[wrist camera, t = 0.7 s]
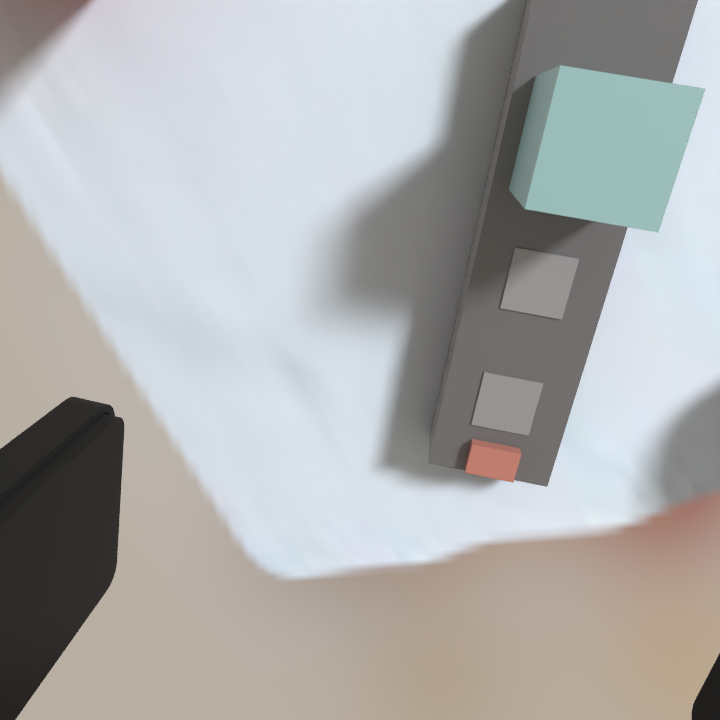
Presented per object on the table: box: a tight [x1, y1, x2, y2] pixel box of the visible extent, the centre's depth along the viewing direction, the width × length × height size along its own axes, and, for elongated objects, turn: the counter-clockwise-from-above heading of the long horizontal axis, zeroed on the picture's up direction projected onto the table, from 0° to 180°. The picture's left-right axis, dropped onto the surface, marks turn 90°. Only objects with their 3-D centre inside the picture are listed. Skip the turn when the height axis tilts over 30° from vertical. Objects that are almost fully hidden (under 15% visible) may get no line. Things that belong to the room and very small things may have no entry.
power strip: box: [429, 0, 698, 486], centre depth 28 cm, size 30×6×4 cm, turn 171°
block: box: [509, 65, 705, 232], centre depth 25 cm, size 4×4×8 cm
